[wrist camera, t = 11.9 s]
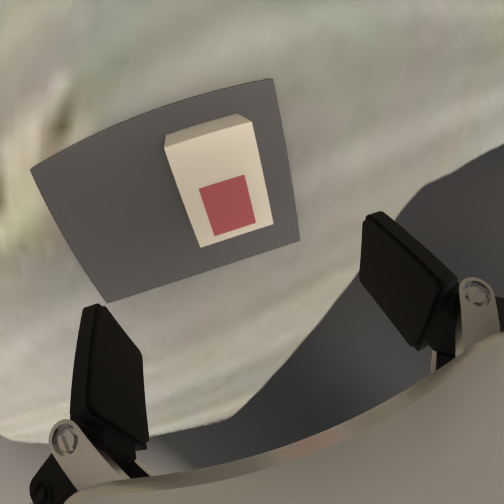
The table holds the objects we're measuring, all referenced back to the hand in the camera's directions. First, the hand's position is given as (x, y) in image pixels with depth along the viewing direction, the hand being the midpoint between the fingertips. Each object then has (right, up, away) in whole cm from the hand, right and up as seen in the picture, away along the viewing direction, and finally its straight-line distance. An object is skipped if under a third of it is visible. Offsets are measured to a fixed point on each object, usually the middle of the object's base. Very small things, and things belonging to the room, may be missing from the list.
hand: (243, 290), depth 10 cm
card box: (-3, +9, +16) cm, 19 cm away
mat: (-8, +6, +17) cm, 20 cm away
